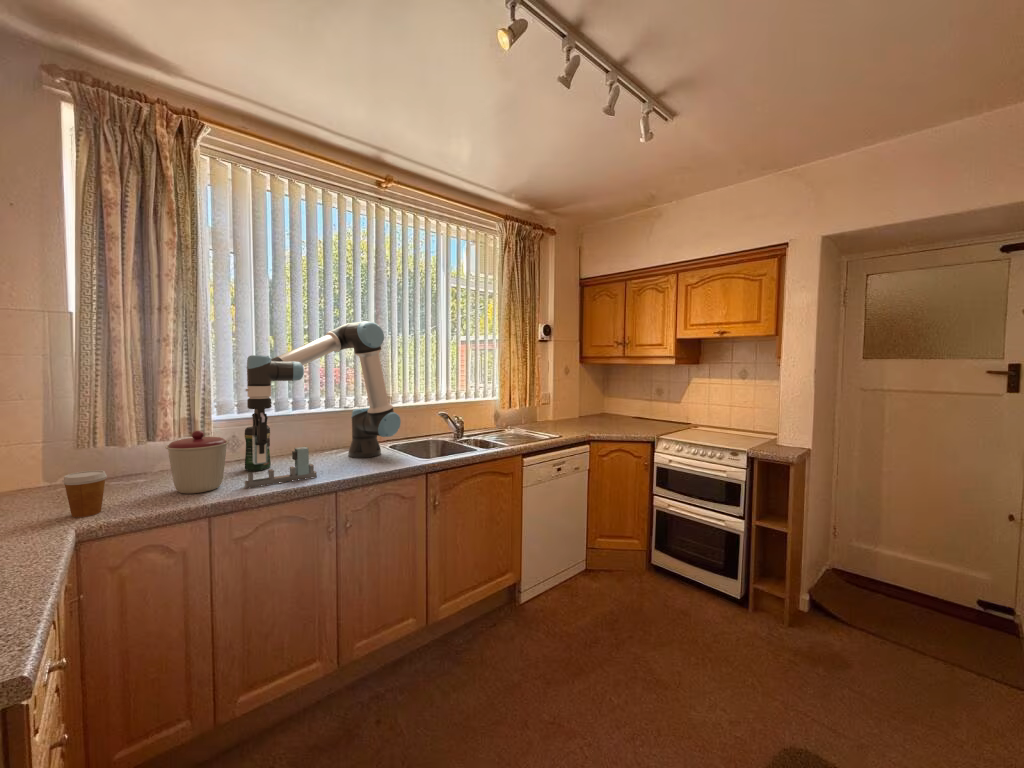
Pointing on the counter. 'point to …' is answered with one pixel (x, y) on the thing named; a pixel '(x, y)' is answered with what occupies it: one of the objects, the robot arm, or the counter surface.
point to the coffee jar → (249, 452)
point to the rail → (297, 472)
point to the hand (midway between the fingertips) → (260, 461)
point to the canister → (197, 463)
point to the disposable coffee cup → (85, 492)
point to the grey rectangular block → (254, 441)
